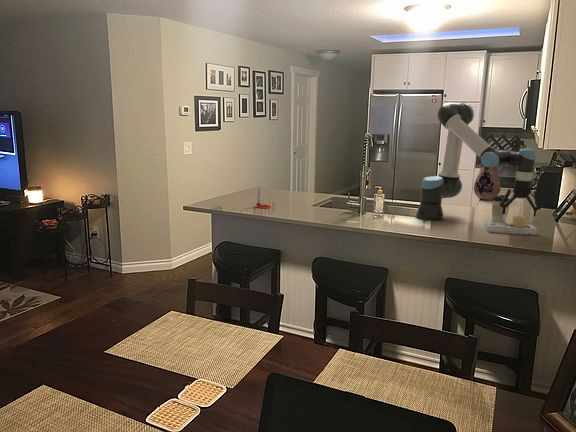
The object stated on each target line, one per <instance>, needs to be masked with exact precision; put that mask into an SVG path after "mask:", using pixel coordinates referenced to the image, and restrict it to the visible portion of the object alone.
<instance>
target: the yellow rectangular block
mask: <svg viewBox="0 0 576 432" xmlns="http://www.w3.org/2000/svg"><path fill="white" fill-rule="evenodd" d="M525 221H526V217H525V216H523V215H513V218H512V223H511V224H512V227H521V228H524V224H526V223H525Z"/></svg>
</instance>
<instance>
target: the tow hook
mask: <svg viewBox="0 0 576 432" xmlns="http://www.w3.org/2000/svg"><path fill="white" fill-rule="evenodd" d="M260 198H261V187H260V186H258V190H257V199H256V200H257V202H256V205H255V207H254V208H255V209H257V208H258V209H262V210H263V209H264V210H268V209H272V206H271V205H270V204H262V203H261V199H260Z"/></svg>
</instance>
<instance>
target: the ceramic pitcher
mask: <svg viewBox="0 0 576 432" xmlns="http://www.w3.org/2000/svg"><path fill="white" fill-rule="evenodd" d="M479 165H480V169H479V171H478V174H477V176H476V179H475V180H474V184H473V192H474V194H475V196H476V197H477V198H478V199H479V200H486V201H491V200H492V199H493V198H494V197H495V196H499V195H500V192H501V181H500V176H499V172H498V167H499V166H498V167H485V166H483V165H482V163H479ZM492 201H493V200H492Z"/></svg>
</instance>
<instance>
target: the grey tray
mask: <svg viewBox="0 0 576 432" xmlns="http://www.w3.org/2000/svg"><path fill="white" fill-rule="evenodd" d="M512 224H513V223H509V222H508V223H507V222H506V223H493V222H492V221H491V222H489V221H485V222H484V228H485V230H486V231H487V233H499V234H500V233H501V234H512V235H513V234H515V235H528V234H530V236H537V235H538V228H536V227H535V226H534V225H533V224H528V223H527V224H526V223H525V224H524V228H521V227H512Z"/></svg>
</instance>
